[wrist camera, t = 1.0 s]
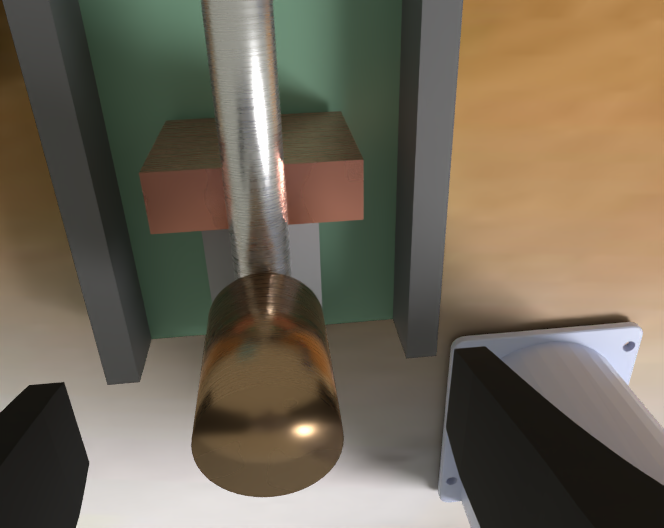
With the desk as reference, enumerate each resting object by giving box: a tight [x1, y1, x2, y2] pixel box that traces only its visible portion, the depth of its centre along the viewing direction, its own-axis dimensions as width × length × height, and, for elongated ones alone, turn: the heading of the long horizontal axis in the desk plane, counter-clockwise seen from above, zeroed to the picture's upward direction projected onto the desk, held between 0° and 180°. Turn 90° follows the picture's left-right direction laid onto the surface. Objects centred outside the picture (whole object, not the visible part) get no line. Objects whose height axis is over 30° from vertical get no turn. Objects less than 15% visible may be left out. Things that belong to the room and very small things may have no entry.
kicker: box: [139, 0, 364, 497], centre depth 12 cm, size 22×5×9 cm, turn 1°
